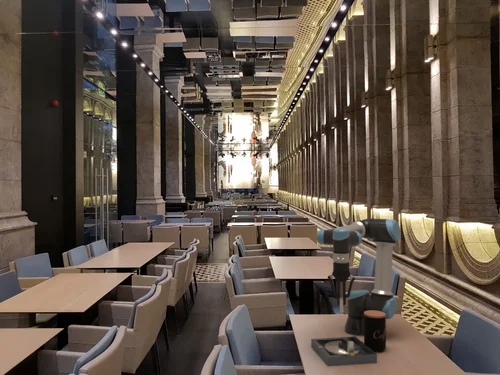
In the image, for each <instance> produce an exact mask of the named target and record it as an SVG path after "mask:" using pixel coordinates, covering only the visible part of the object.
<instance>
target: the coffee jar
mask: <svg viewBox="0 0 500 375" xmlns="http://www.w3.org/2000/svg"><path fill="white" fill-rule="evenodd" d="M364 315H365V316H364V336H363V343H364V344H365V345H367V346H368V347H369V348H370V349H371V350H373V351H374V352H375V353H384V352H385V351H386V349H387V330H386V328H387V326H386V325H387V319H386V318H385V316H386V314H385V313H384V312H381V311H375V310H369V311H365V312H364Z"/></svg>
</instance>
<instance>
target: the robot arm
mask: <svg viewBox="0 0 500 375" xmlns="http://www.w3.org/2000/svg"><path fill="white" fill-rule="evenodd" d="M400 227H401V226H400V225H399V222H398V221H397V220H395V219H390V218H365V219H360V220H356V221H353V222H352V223H351V224H347V225H343V226H339V227H336V228H335V227H334V228H331V229H325V228H324V229H319V230H318V231H317V233H316V241H317V243H318V244H320V245H327V246H332V261H333V263H332V272H331V274H330V275H328V276H327V279H328V281H329V283H330V288H331V291H332V295H333V297H334V298H336V299H337V300H336V301H337V306H339V313H341V314H343V313H344V312H345V311H344V306H346V303H347V319H346V322H345V325H344V332H346V333H347V334H350V335H353V336H360V337H364V316H365V315H364V312H365V311H369V310H375V311H381V312H384V313H385V314H386V316H385V318H386V320H391V319H392V318H393V317H394V316H395V314H396V313H397V308H398V302H397V299H396V298H395V297H394V293H393V292H392V289H391V288H392V271H393V270H392V269H393V251H394V250H393V248H394V247H395V246H396V244H397V241H398V242H399V241H400V238H401V233H402V232H401V228H400ZM363 239H368V240H369V239H370V240H371V239H372V240H373V244H375V245H376V251H375V252H376V253H375V254H376V255H375V267H374V268H375V271H374V288H373V289H372V290H371V293H370V291H369V290H367V289H354V290H352V287H353V283H354V281H355V280H356V277H355V276H353V275H352V274H351V272H350V248H355V247H357V246H359V245H361V244H362V241H363ZM334 279H335V281H336V284H337V285H336V287H335V284H334ZM348 279H349V285H348V290H346V289H347V288H346V285H347V284H346V283H347V281H348ZM341 282H342V296H341Z"/></svg>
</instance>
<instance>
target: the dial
mask: <svg viewBox="0 0 500 375" xmlns="http://www.w3.org/2000/svg"><path fill="white" fill-rule="evenodd" d="M325 350H326V351H327V352H328V353H330V354H333V355H345V354H349V353H353V354H359V353H360V347H359V346H358V345H357V344H355V343H354V342H353V341H351V340H349V339H348V338H342V341H331V342H328V343H326V344H325Z"/></svg>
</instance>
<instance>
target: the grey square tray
mask: <svg viewBox="0 0 500 375" xmlns="http://www.w3.org/2000/svg"><path fill="white" fill-rule="evenodd" d="M342 338H348V339H349V340H351V341H353V342H354V343H355V344H357V345H358V346H359V347H360V353H359V354H353V353H349V354H345V355H333V354H330V353H328V352H327V351H326V350H325V344H326V343H328V342H331V341H342ZM310 347H311V348H312V349H313V351H314V352H315V353H316V354H317V355H318V357H319V358H320V359H321V360H322V362H323V363H324V364H325V365H326V366H327V367H336V366H337V367H339V366H348V365H349V366H351V365H361V364H362V365H365V364H377V363H378V354H377V352H374V351H373V350H371V349H370V348H369V347H368V346H367V345H365V344H364V341H362V340H360V339H359V338H358V337H357V336H356V335H353V336H339V337H338V336H337V337H324V338H323V337H322V338H311V340H310Z"/></svg>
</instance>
